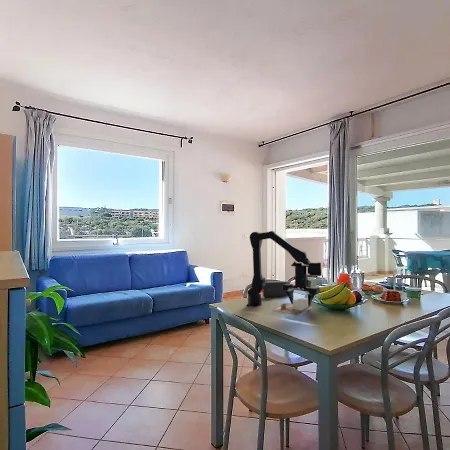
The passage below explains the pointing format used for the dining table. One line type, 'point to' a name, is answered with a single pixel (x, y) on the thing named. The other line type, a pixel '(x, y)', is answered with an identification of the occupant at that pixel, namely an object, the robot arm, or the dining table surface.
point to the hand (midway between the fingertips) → (300, 305)
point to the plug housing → (300, 303)
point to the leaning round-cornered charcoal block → (274, 289)
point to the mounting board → (289, 309)
